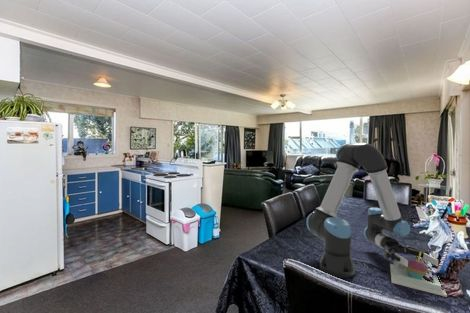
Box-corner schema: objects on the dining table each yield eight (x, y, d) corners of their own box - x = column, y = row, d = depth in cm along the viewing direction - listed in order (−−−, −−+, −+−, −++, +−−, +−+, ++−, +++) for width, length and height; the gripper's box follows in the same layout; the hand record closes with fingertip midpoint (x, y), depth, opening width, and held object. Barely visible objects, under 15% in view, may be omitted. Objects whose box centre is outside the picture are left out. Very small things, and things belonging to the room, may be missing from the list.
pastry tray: (391, 282, 101) (392, 275, 101) (390, 265, 116) (390, 259, 116) (447, 297, 91) (447, 289, 91) (437, 275, 107) (437, 269, 106)
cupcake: (416, 272, 108) (418, 246, 108) (432, 282, 100) (434, 255, 99) (398, 272, 108) (399, 246, 107) (413, 282, 99) (414, 254, 99)
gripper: (409, 249, 122) (449, 271, 101) (363, 250, 121) (394, 272, 99) (410, 235, 122) (449, 254, 101) (364, 236, 120) (394, 255, 99)
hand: (422, 263), depth 100 cm, fingers open, 13 cm apart
